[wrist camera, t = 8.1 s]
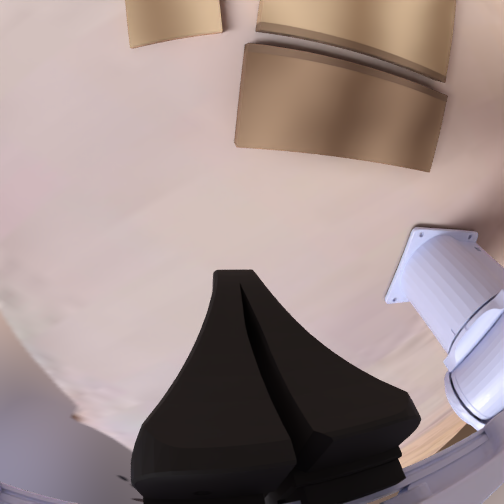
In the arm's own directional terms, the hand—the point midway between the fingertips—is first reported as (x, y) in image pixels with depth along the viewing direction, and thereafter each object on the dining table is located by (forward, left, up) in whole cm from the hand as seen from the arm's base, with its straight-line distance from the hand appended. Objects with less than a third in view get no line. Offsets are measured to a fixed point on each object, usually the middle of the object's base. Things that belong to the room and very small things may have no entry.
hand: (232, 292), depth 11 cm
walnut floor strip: (-8, -6, -10) cm, 14 cm away
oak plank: (-8, -16, -10) cm, 20 cm away
